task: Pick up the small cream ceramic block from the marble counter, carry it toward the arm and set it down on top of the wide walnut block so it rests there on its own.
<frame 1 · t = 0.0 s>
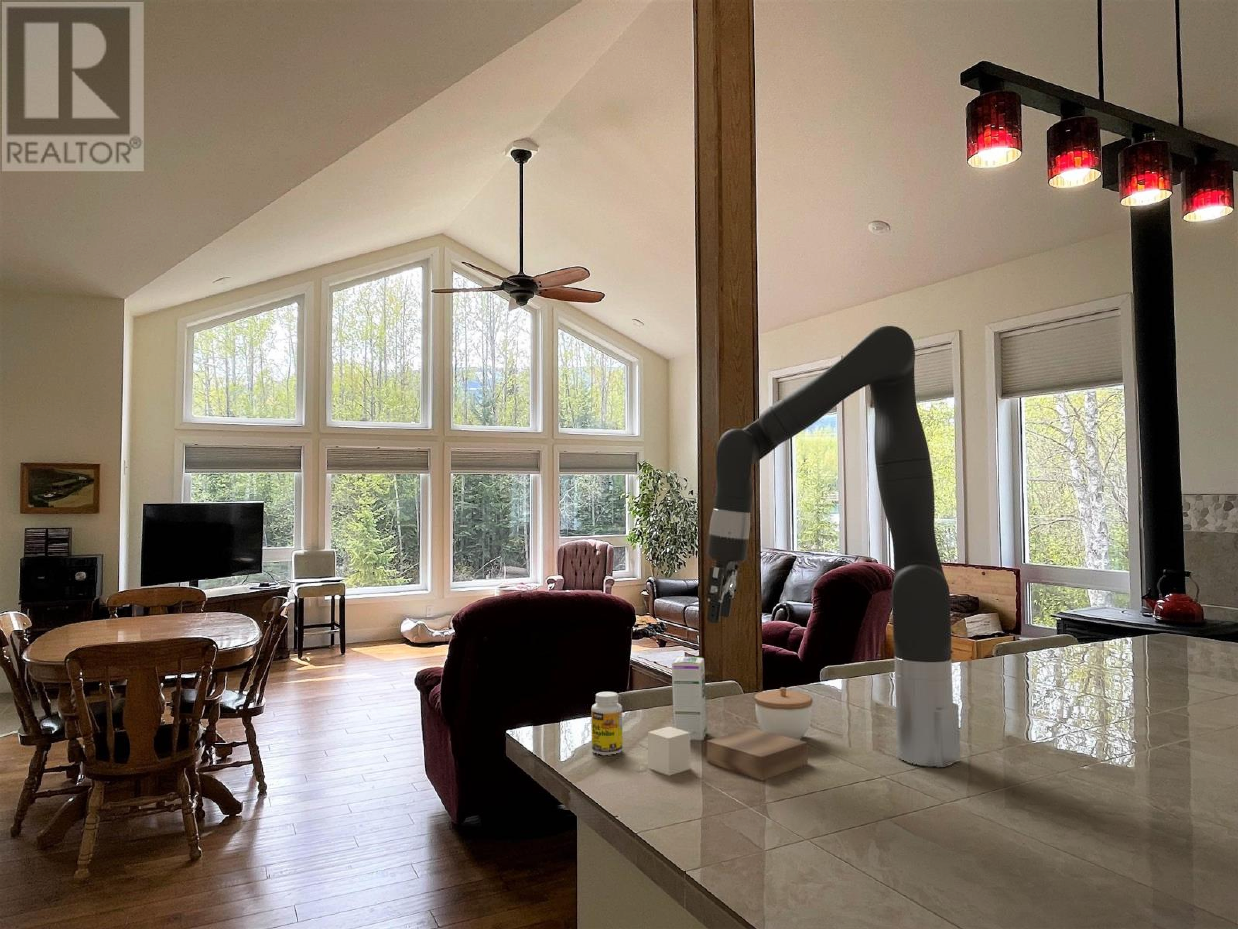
hand: (718, 619, 149), 22 cm above the countertop, tool pointing down, fingers open, 8 cm apart
supplement bottle: (607, 753, 141), on the countertop
lidded jar: (784, 739, 148), on the countertop
syrup box: (689, 737, 150), on the countertop
cream block: (669, 768, 132), on the countertop
walnut block: (757, 765, 134), on the countertop
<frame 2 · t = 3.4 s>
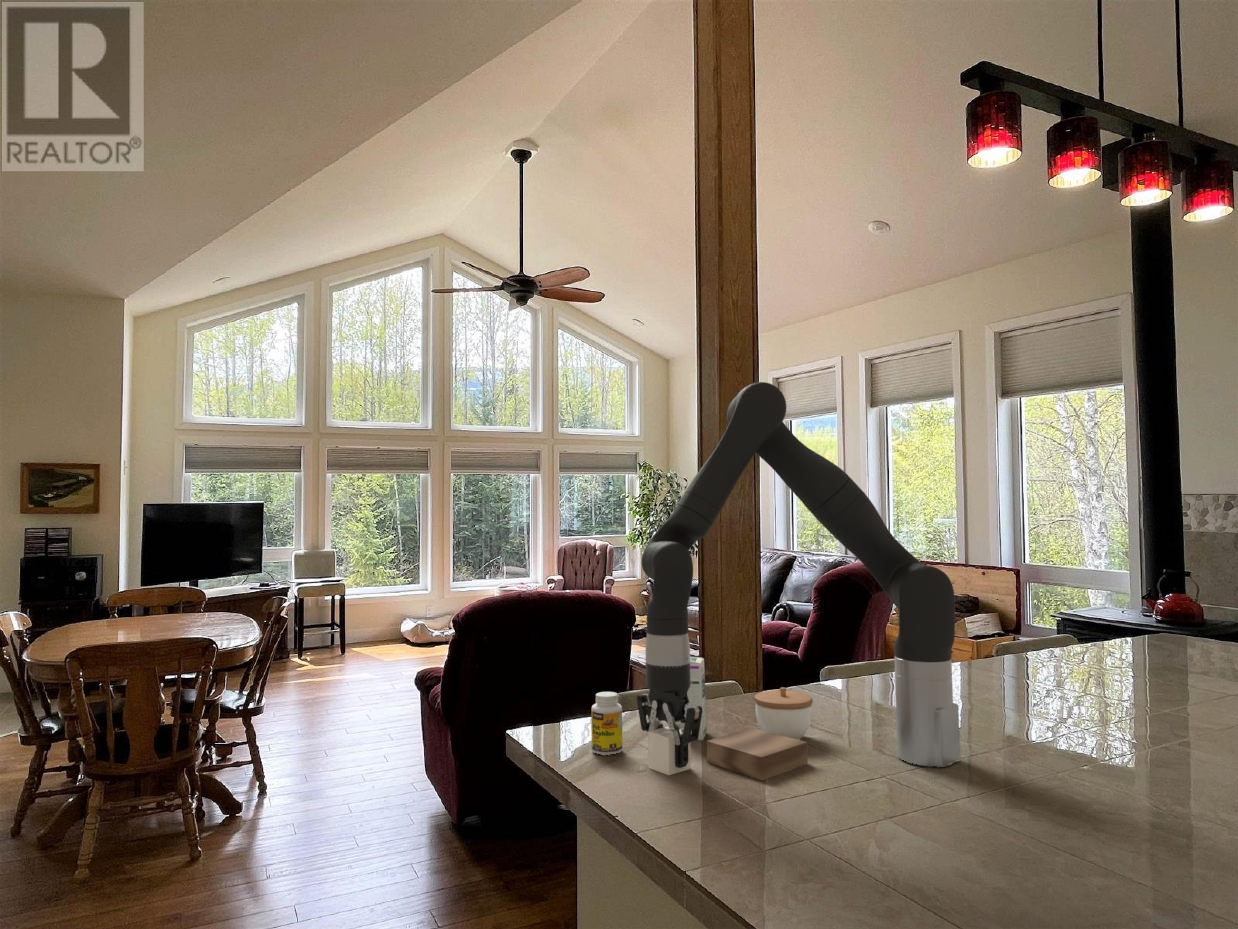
hand: (669, 762, 132), 1 cm above the countertop, tool pointing down, fingers closed on cream block, 5 cm apart
cream block: (669, 768, 132), on the countertop, touching gripper
everything else where it was.
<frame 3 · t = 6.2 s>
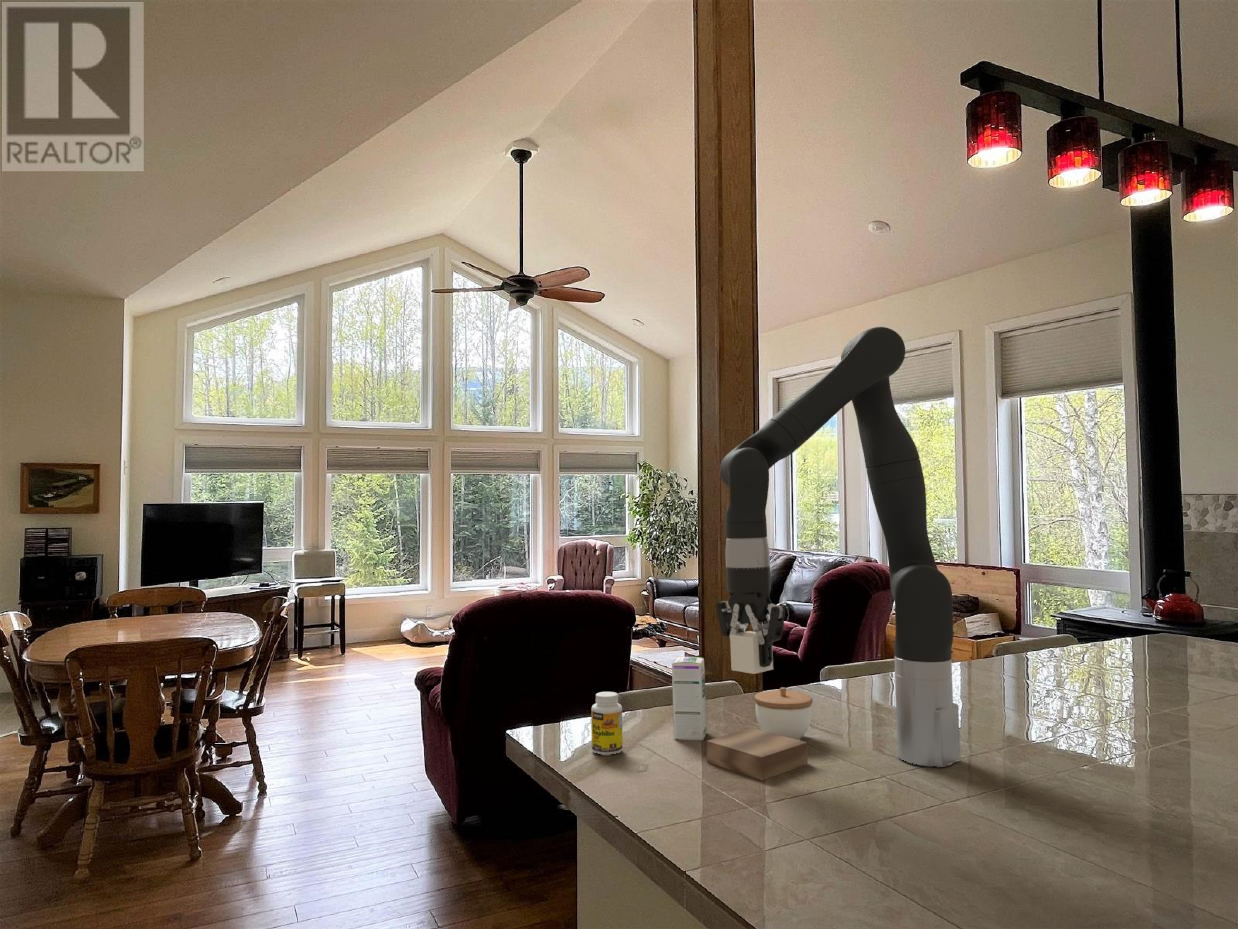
hand: (752, 663, 134), 17 cm above the countertop, tool pointing down, fingers closed on cream block, 5 cm apart
cream block: (752, 669, 134), point 16 cm above the countertop, touching gripper
everything else where it was.
when the fingers open (5 cm above the countertop, at t = 9.0 s): cream block stays where it is, resting on walnut block.
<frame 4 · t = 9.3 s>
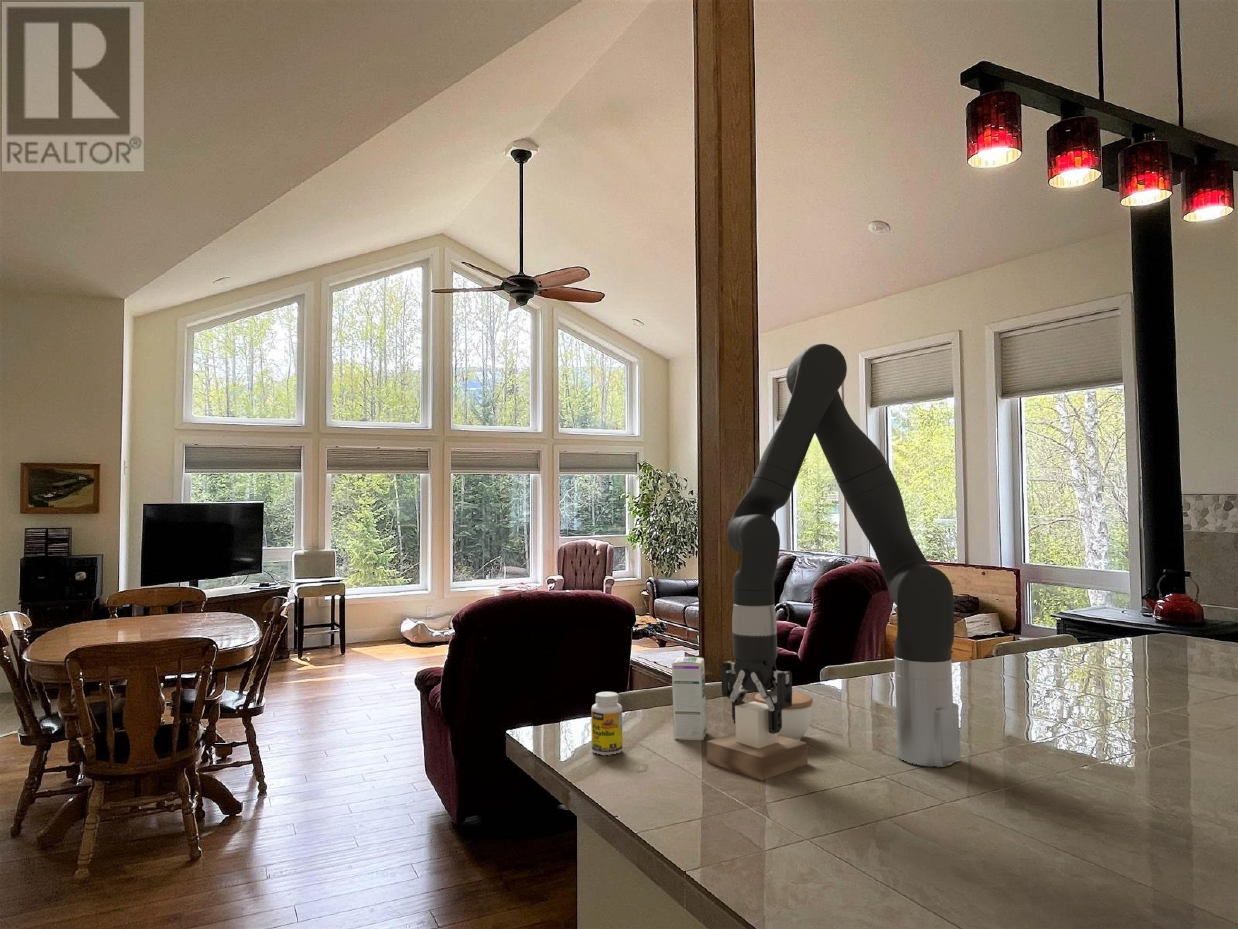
hand: (756, 728, 134), 6 cm above the countertop, tool pointing down, fingers open, 7 cm apart
cream block: (756, 742, 134), point 3 cm above the countertop, touching walnut block
walnut block: (757, 766, 134), on the countertop, touching cream block
everything else where it was.
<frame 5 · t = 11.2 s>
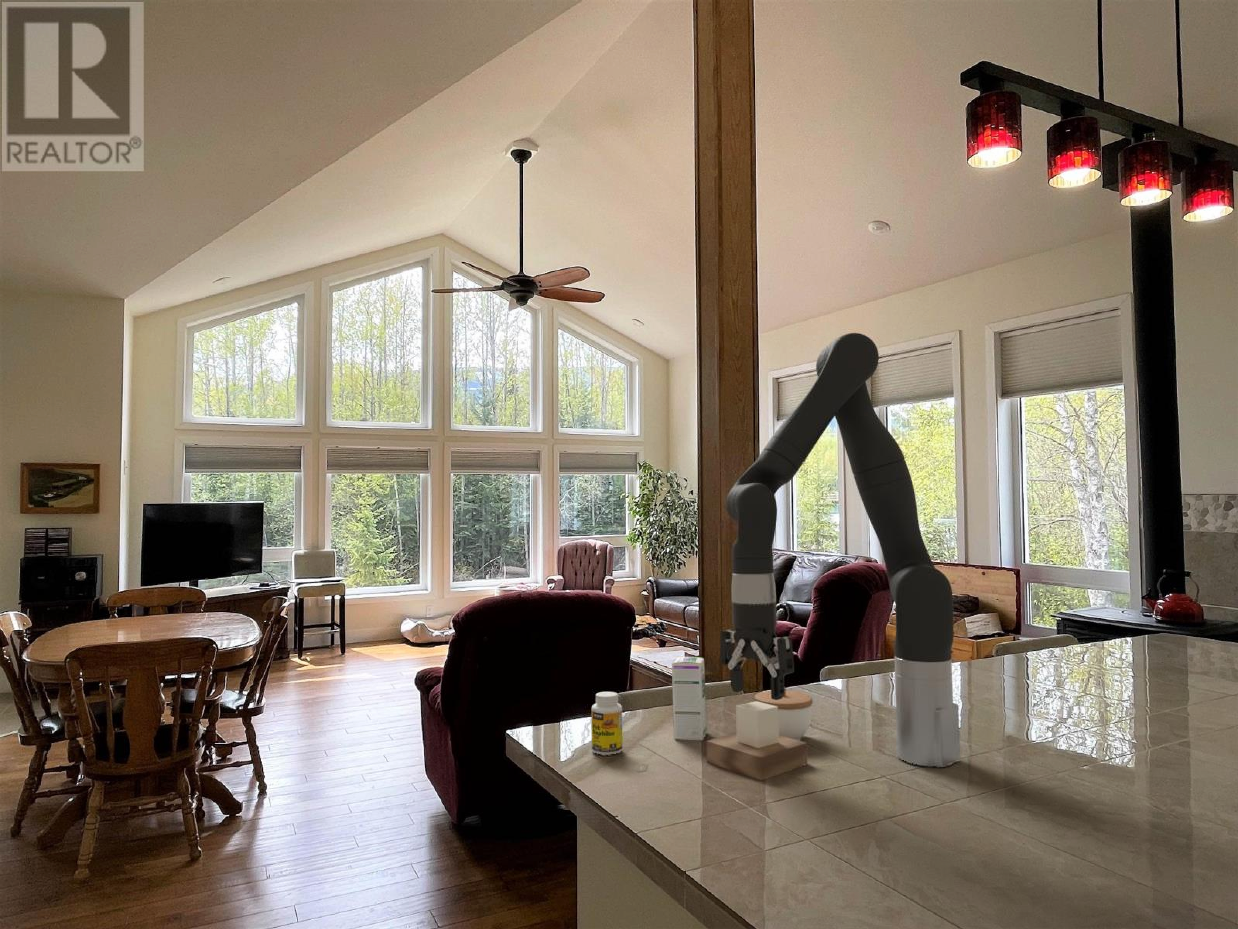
hand: (757, 695, 134), 11 cm above the countertop, tool pointing down, fingers open, 8 cm apart
cream block: (757, 742, 134), point 4 cm above the countertop
walnut block: (756, 765, 134), on the countertop
everything else where it was.
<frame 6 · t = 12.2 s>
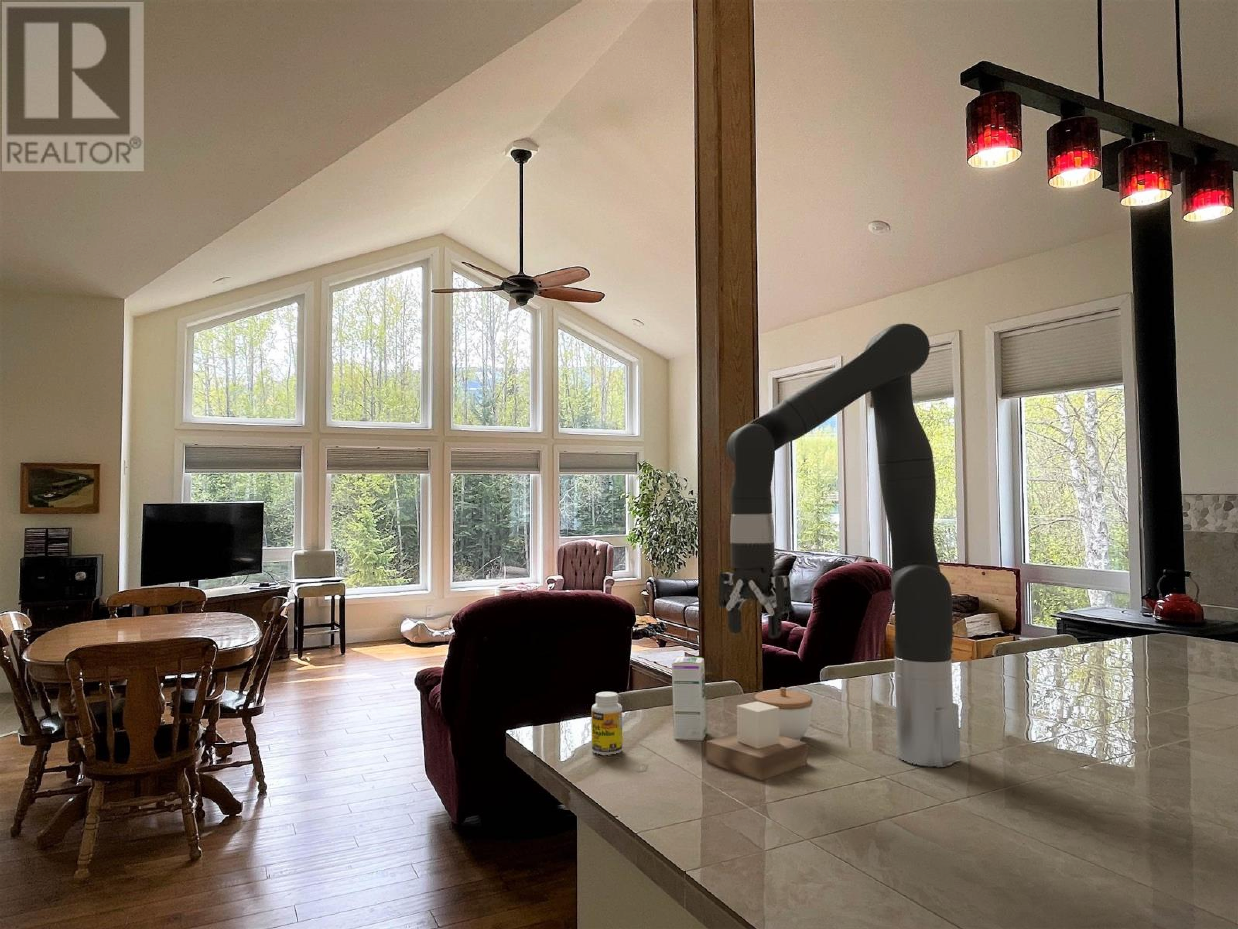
hand: (754, 635, 135), 22 cm above the countertop, tool pointing down, fingers open, 8 cm apart
nothing on the countertop moved.
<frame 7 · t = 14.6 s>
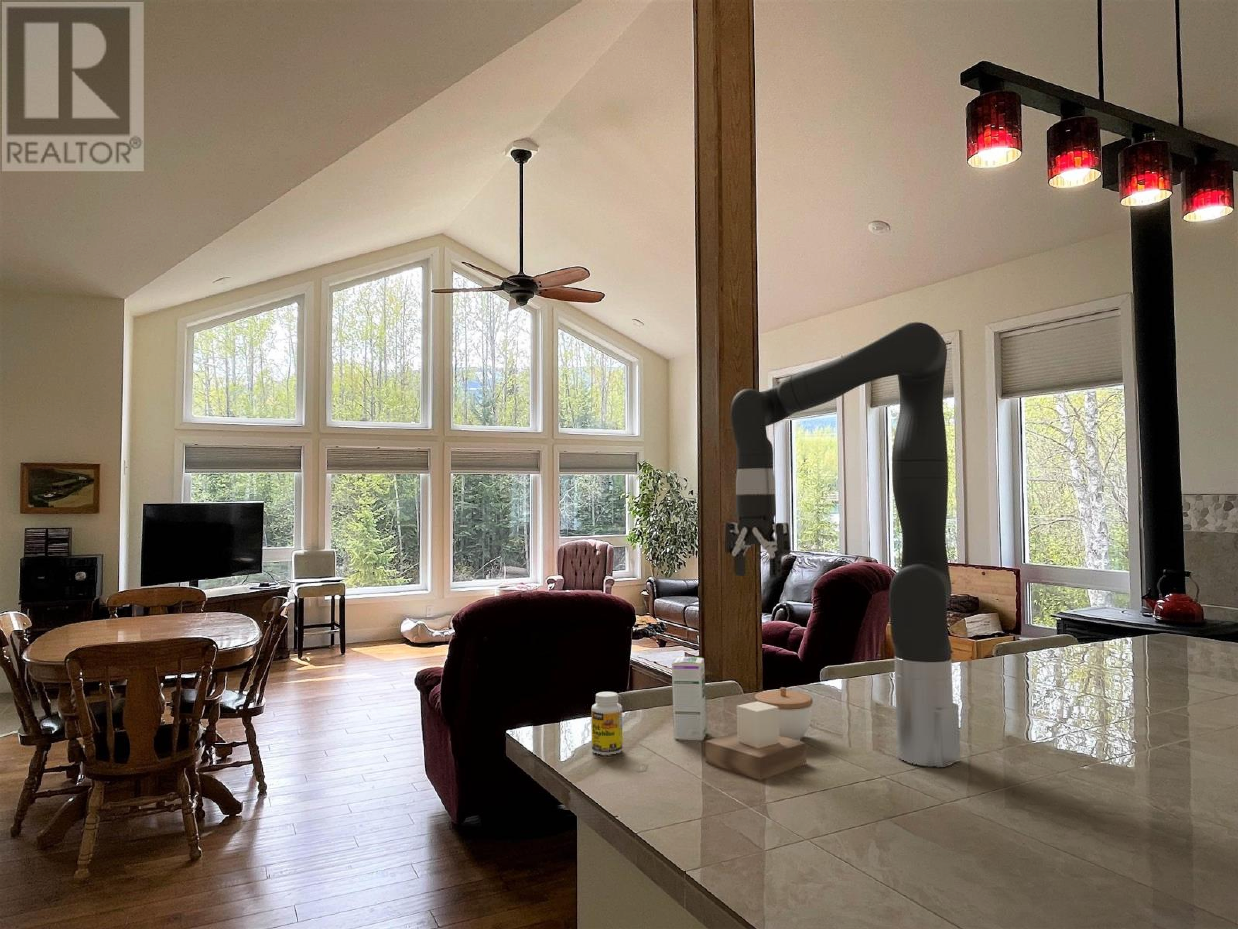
hand: (757, 576, 152), 30 cm above the countertop, tool pointing down, fingers open, 8 cm apart
nothing on the countertop moved.
at the end: cream block inside the target area on the walnut block (0.5 cm from its centre), point 4.0 cm above the walnut block's base; cream block tilted 1°; the gripper is holding nothing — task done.
